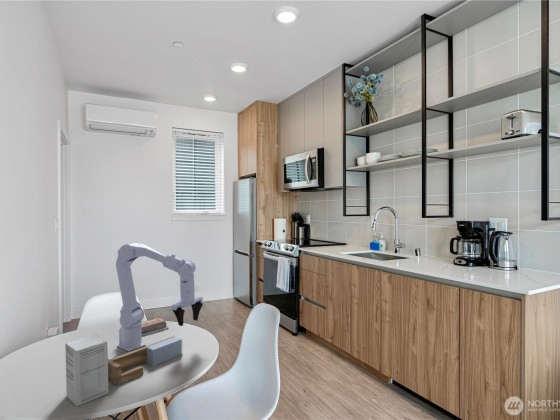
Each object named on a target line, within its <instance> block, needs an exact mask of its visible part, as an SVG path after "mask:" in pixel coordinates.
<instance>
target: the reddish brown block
mask: <svg viewBox="0 0 560 420" xmlns="http://www.w3.org/2000/svg"><path fill="white" fill-rule="evenodd" d="M166 330H169V327H168V326H167V322H166V319H165V318H164V319H163V318H162V317H157V318H152V319H149V320H145V321H141V337H145V336H148V335H151V334H155V333H159V332H163V331H166Z"/></svg>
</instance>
